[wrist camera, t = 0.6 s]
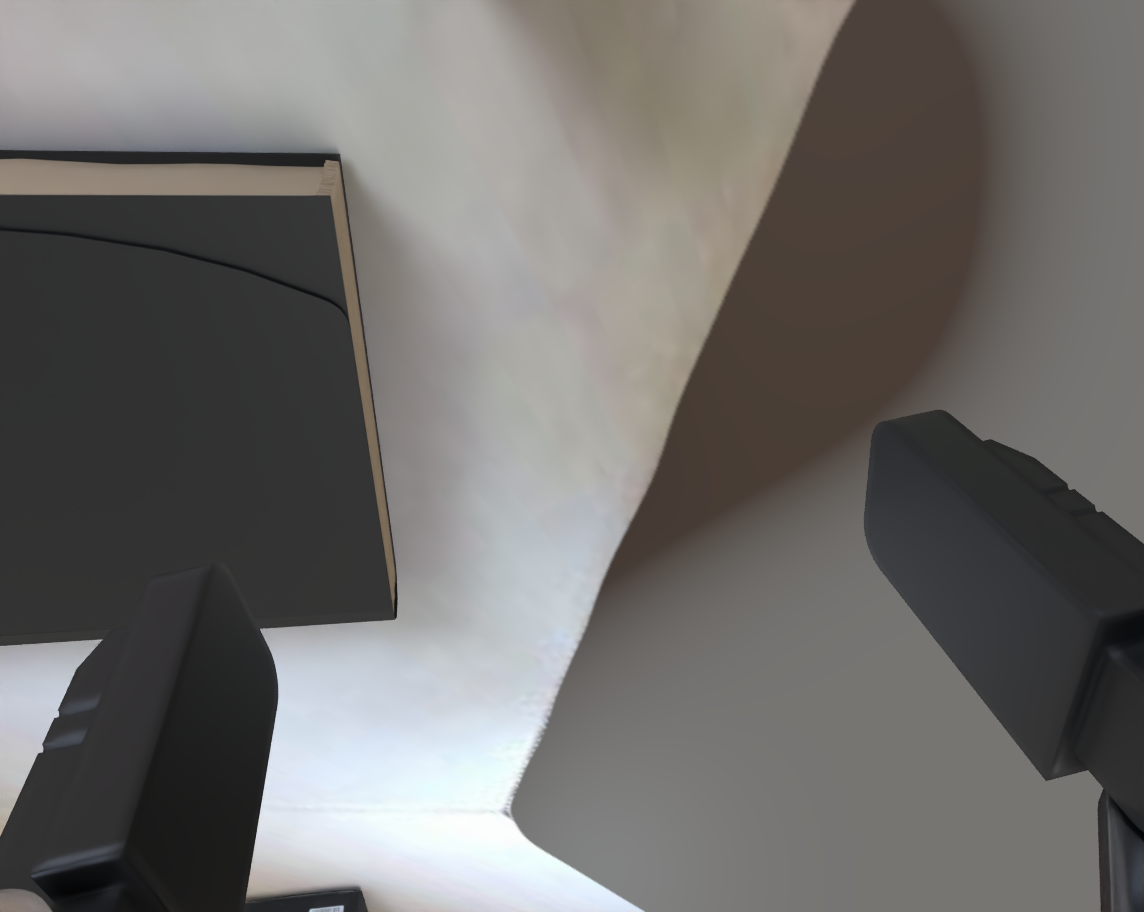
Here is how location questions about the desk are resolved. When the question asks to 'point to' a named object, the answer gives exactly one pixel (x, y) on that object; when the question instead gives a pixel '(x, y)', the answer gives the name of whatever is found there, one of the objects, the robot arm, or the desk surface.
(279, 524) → the dark hardcover book
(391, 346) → the desk surface
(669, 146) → the desk surface
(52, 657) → the desk surface
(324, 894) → the disk drive
